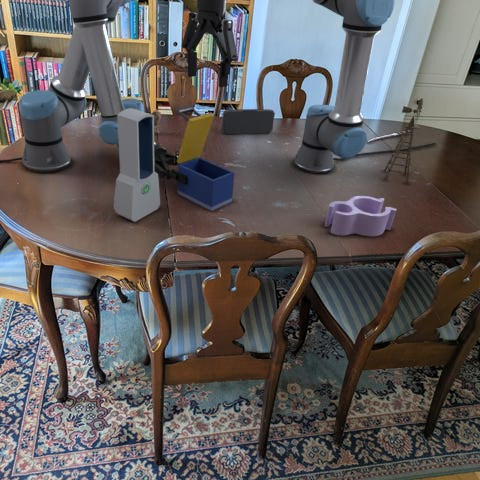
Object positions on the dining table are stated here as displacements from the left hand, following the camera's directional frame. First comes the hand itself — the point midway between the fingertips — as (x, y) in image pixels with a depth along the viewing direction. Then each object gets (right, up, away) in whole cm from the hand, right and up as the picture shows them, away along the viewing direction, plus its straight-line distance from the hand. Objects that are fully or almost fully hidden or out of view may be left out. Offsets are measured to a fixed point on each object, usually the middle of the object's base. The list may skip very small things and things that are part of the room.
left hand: (198, 175), depth 148 cm
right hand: (+4, +24, -17) cm, 30 cm away
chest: (+2, -7, +2) cm, 7 cm away
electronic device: (-17, -12, -10) cm, 23 cm away
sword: (+82, +27, +67) cm, 109 cm away
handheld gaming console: (+16, +26, +55) cm, 63 cm away
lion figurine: (-26, +24, +44) cm, 57 cm away
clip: (+49, -16, -5) cm, 52 cm away
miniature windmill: (+72, +3, +29) cm, 78 cm away
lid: (0, +10, -6) cm, 12 cm away
